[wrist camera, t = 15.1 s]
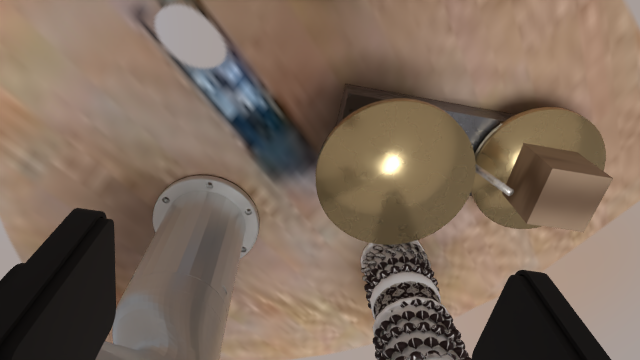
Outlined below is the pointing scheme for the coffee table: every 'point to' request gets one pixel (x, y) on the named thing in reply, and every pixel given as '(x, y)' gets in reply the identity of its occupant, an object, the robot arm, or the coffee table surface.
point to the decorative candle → (407, 305)
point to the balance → (431, 161)
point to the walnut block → (556, 187)
